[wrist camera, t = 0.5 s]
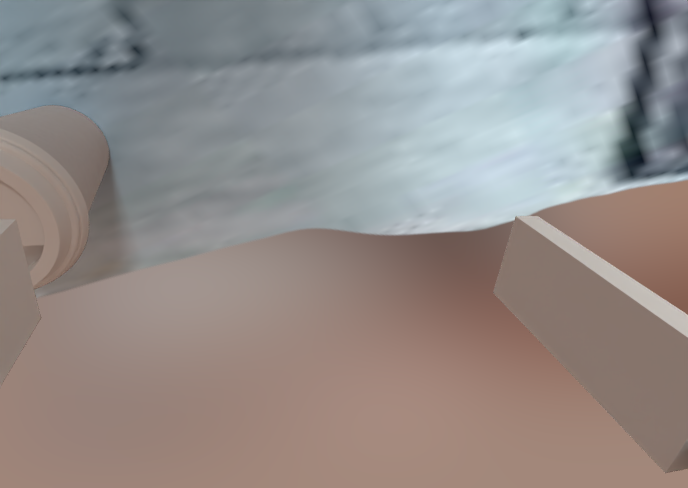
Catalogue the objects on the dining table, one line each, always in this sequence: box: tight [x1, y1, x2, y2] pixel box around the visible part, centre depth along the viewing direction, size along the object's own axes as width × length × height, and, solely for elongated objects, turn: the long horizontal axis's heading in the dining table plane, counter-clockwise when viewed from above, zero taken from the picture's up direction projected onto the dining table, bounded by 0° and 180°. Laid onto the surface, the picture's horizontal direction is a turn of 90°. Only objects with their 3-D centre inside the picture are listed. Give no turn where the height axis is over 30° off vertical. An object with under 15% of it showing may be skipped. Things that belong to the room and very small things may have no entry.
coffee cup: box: [0, 105, 109, 289], centre depth 28 cm, size 10×10×15 cm
